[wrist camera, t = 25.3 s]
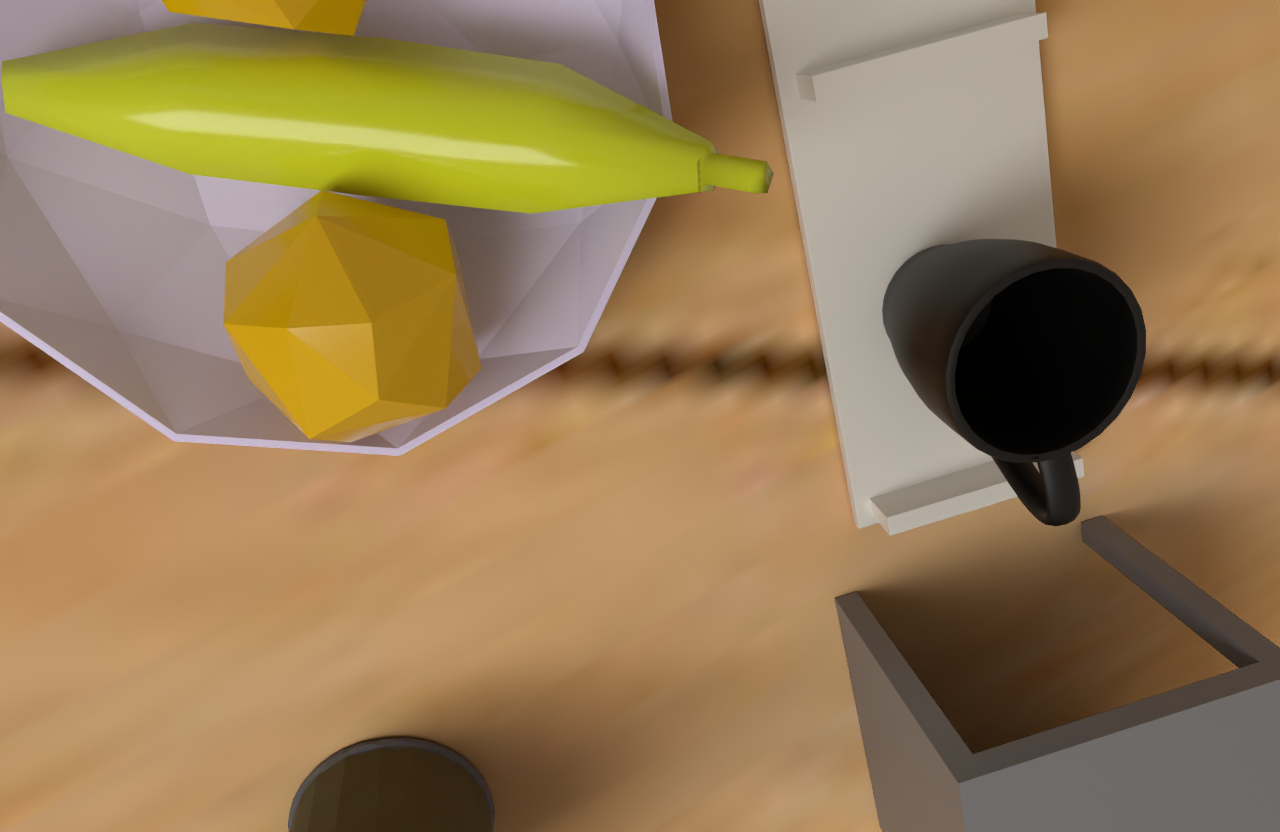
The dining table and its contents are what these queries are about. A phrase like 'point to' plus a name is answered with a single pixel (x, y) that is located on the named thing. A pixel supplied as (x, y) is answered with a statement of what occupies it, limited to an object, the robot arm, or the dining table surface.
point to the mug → (1018, 355)
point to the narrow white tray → (905, 207)
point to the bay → (1082, 735)
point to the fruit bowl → (328, 202)
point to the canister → (393, 791)
